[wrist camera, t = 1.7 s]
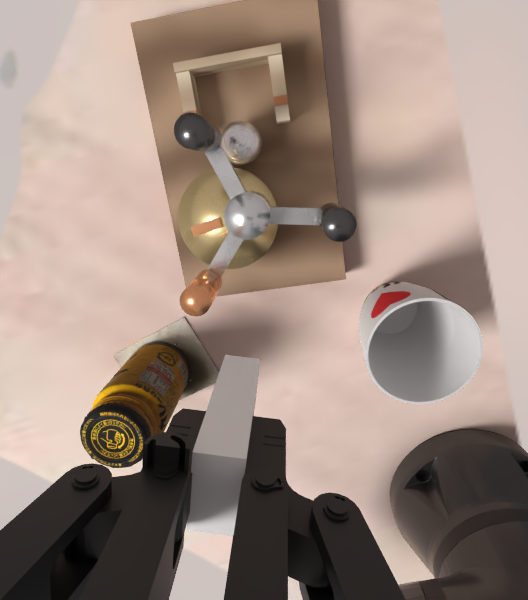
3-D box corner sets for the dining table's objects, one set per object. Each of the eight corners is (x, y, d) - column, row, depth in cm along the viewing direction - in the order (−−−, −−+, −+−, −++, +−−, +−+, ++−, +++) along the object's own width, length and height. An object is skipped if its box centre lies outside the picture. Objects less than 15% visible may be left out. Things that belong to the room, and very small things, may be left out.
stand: (343, 273, 39) (349, 286, 35) (193, 294, 40) (182, 308, 36) (314, -3, 33) (318, -29, 29) (139, 31, 34) (118, 11, 30)
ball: (265, 161, 34) (263, 160, 31) (227, 168, 35) (221, 167, 32) (259, 119, 33) (256, 113, 30) (219, 126, 34) (213, 121, 31)
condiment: (113, 354, 42) (48, 422, 31) (184, 316, 41) (144, 372, 29) (153, 412, 44) (106, 496, 33) (223, 377, 42) (200, 453, 31)
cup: (436, 263, 38) (486, 293, 28) (434, 347, 40) (480, 401, 31) (344, 270, 39) (363, 302, 29) (348, 352, 41) (366, 407, 31)
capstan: (305, 94, 33) (312, 64, 24) (347, 240, 36) (367, 263, 26) (155, 151, 34) (107, 143, 25) (206, 285, 37) (180, 321, 28)
